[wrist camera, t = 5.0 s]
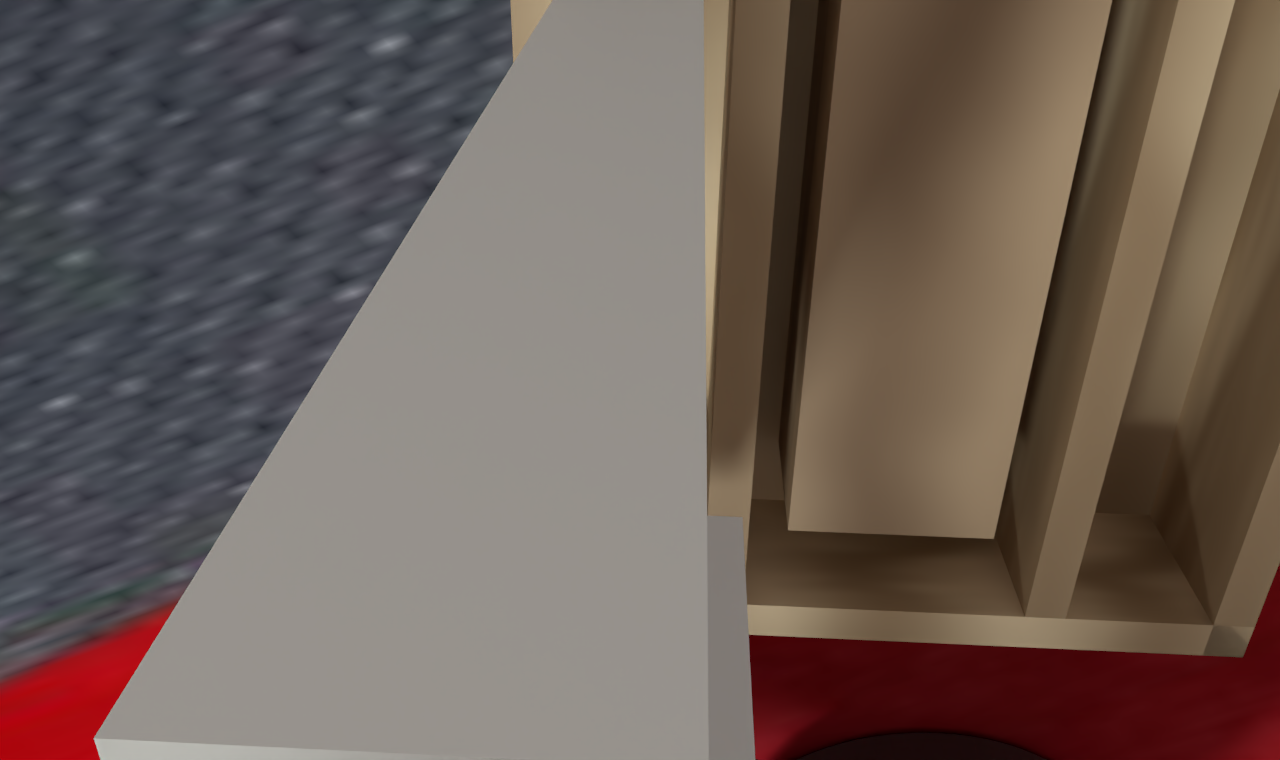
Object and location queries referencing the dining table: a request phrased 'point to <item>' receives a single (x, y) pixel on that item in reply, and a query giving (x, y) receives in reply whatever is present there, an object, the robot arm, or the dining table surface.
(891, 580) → the rack
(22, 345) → the dining table surface
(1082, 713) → the dining table surface
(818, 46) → the lower offcut
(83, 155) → the dining table surface
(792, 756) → the dining table surface
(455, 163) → the tall sheet
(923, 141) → the upper offcut
